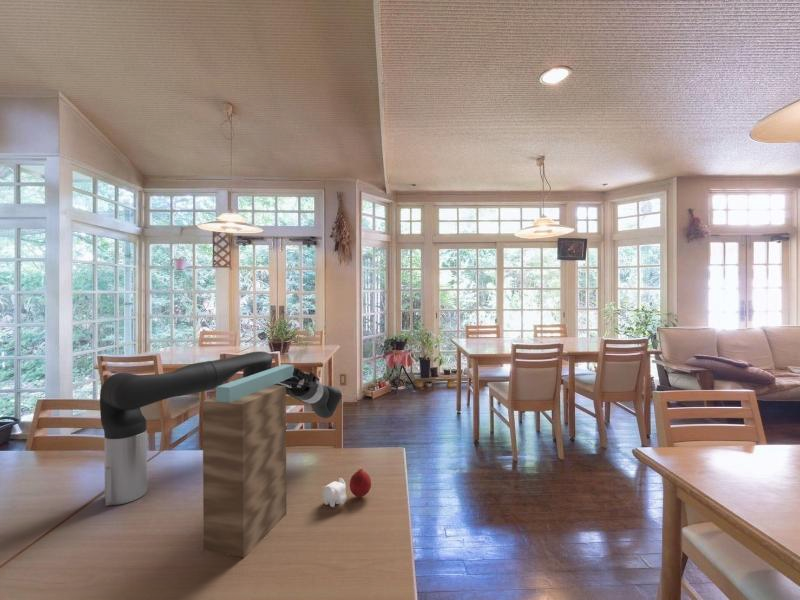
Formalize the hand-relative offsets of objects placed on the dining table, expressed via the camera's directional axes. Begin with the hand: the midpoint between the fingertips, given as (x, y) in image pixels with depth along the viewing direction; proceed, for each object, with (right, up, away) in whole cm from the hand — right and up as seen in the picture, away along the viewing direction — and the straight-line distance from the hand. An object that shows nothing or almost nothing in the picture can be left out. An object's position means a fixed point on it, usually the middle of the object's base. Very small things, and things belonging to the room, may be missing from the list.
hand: (280, 370), depth 97 cm
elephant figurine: (+15, -35, -2) cm, 38 cm away
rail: (-2, -3, -8) cm, 9 cm away
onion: (+21, -35, +1) cm, 41 cm away
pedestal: (-3, -35, -13) cm, 37 cm away
